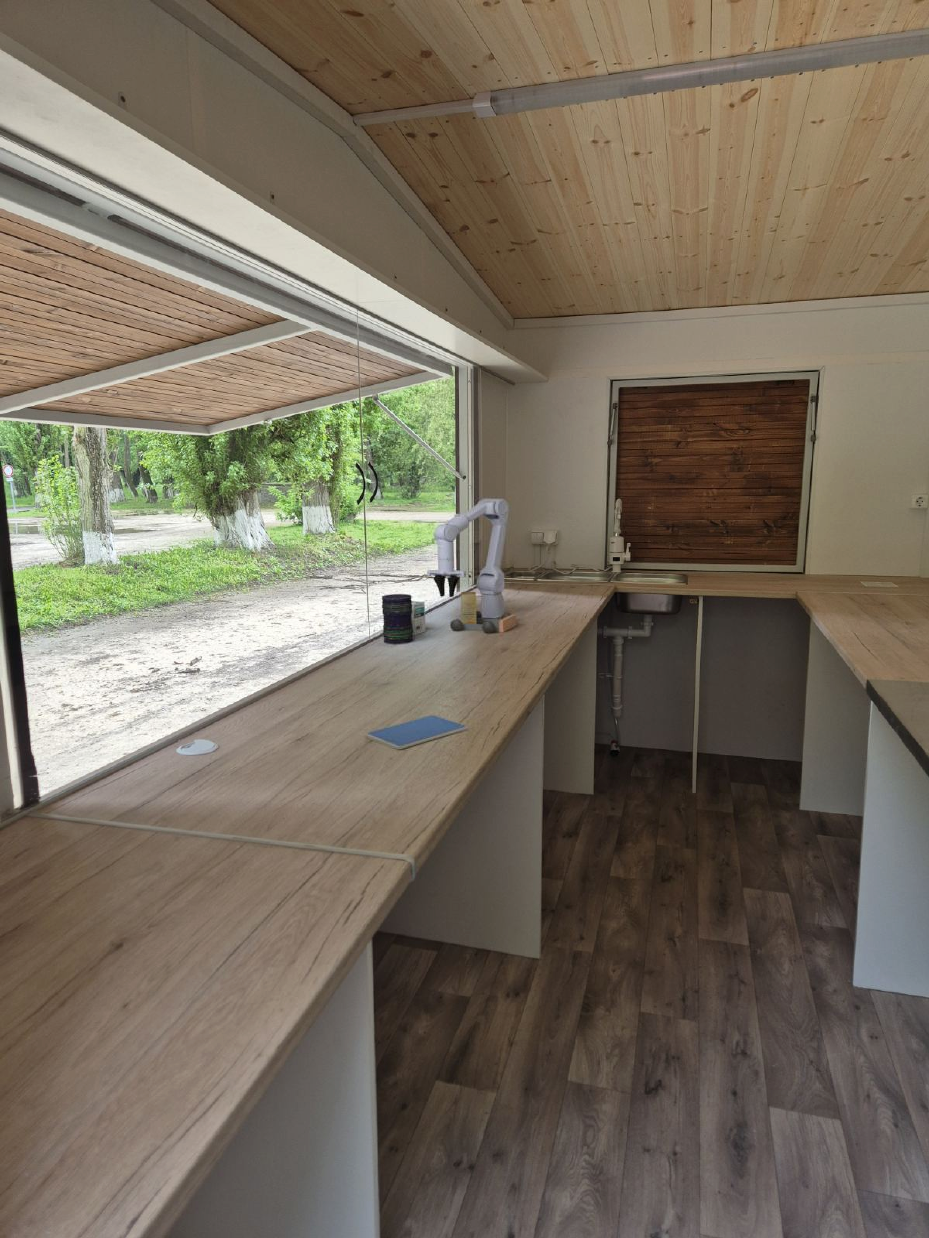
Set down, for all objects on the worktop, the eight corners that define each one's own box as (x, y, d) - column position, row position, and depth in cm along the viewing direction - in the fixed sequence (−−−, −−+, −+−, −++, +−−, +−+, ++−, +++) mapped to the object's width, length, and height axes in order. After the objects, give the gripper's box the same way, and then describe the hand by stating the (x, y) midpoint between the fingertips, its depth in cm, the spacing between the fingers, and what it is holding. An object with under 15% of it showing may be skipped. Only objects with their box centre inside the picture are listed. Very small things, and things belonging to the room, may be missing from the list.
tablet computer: (433, 718, 188) (432, 713, 188) (470, 731, 179) (469, 725, 179) (363, 739, 175) (363, 733, 175) (399, 753, 166) (399, 747, 166)
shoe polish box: (475, 624, 294) (475, 591, 292) (476, 627, 289) (475, 594, 287) (462, 625, 294) (461, 592, 292) (462, 628, 289) (461, 594, 287)
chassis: (469, 621, 302) (469, 610, 301) (519, 624, 294) (519, 613, 293) (447, 630, 285) (447, 619, 284) (499, 634, 277) (499, 622, 276)
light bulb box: (426, 632, 284) (425, 601, 282) (415, 635, 278) (413, 604, 276) (401, 629, 290) (400, 599, 288) (389, 632, 284) (388, 602, 282)
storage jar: (412, 644, 265) (410, 598, 262) (381, 644, 265) (379, 599, 262) (414, 637, 275) (413, 593, 272) (385, 638, 275) (383, 594, 272)
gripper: (422, 559, 290) (423, 597, 293) (459, 560, 284) (460, 599, 287) (431, 557, 296) (432, 594, 299) (468, 558, 290) (469, 596, 293)
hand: (447, 596), depth 293 cm, fingers open, 3 cm apart
